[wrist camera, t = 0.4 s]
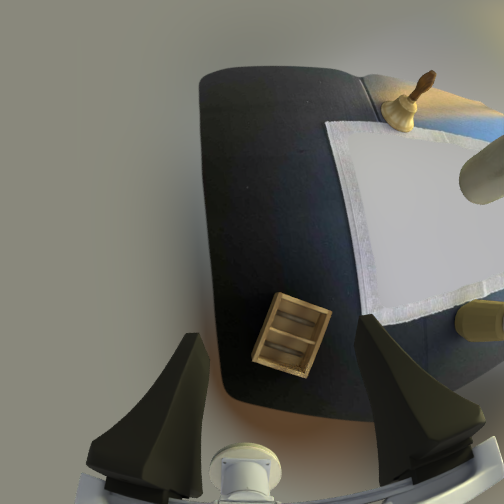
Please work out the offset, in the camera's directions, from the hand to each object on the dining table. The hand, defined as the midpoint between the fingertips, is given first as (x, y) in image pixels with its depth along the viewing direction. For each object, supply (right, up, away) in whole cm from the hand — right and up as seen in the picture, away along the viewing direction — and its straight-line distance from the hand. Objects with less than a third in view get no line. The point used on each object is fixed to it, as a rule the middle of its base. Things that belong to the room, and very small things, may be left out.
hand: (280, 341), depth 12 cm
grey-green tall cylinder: (+46, +18, +34) cm, 60 cm away
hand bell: (+30, +33, +36) cm, 57 cm away
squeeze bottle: (+40, -9, +30) cm, 51 cm away
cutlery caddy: (+4, -8, +28) cm, 30 cm away
